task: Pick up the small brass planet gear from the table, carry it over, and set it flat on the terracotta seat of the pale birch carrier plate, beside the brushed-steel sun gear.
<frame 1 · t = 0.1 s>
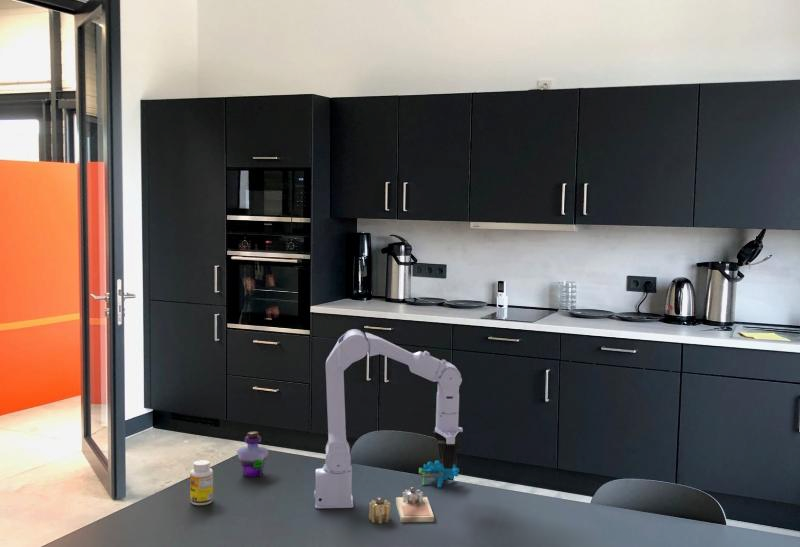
hand: (445, 463, 202), 10 cm above the table, fingers open, 7 cm apart
sun gear: (412, 505, 199), resting on carrier plate
supplement bottle: (201, 502, 199), on the table
toy dinosaur: (438, 484, 216), on the table
potion bottle: (252, 475, 219), on the table
planet gear: (379, 519, 190), on the table
carrier plate: (414, 511, 195), on the table
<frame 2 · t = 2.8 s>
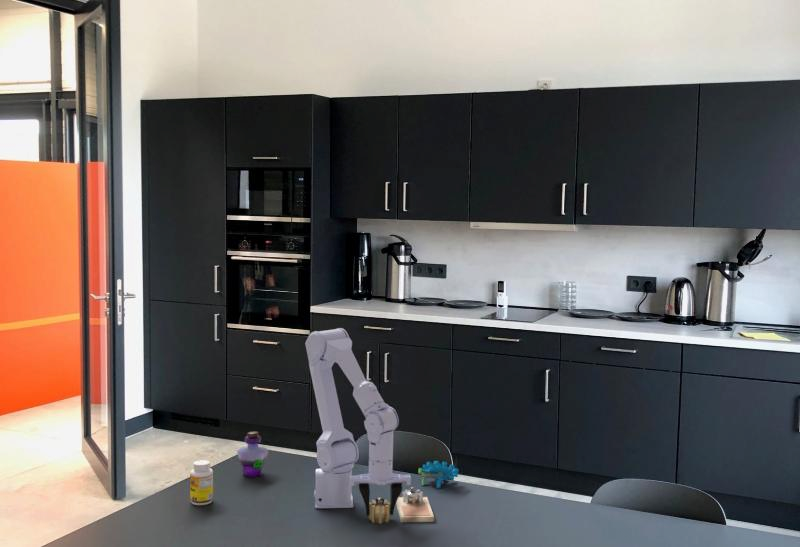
hand: (379, 513, 190), 1 cm above the table, fingers closed on planet gear, 5 cm apart
planet gear: (379, 519, 190), on the table, touching gripper
everything else where it was.
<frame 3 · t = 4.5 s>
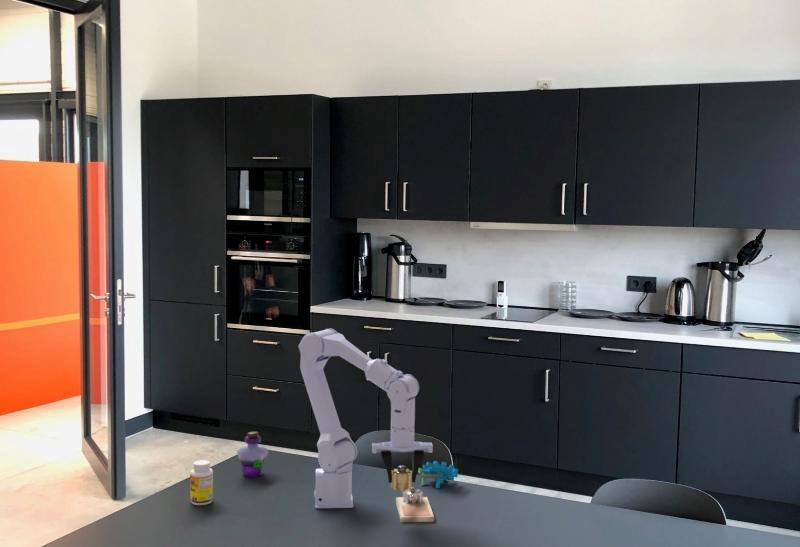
hand: (401, 481, 191), 9 cm above the table, fingers closed on planet gear, 5 cm apart
planet gear: (401, 487, 191), point 7 cm above the table, touching gripper
everything else where it was.
when the fingers open (4 cm above the table, at t = 6.5 s): planet gear drops 1 cm, resting on carrier plate.
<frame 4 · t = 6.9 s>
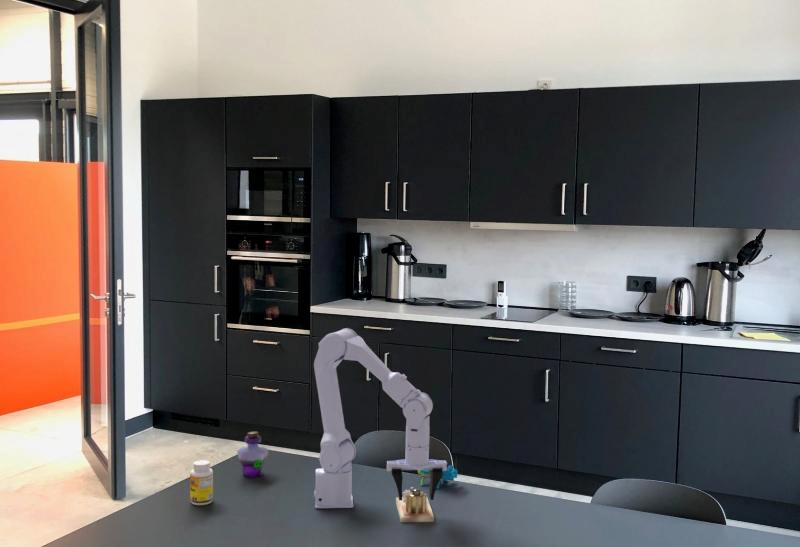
hand: (415, 498, 193), 4 cm above the table, fingers open, 7 cm apart
planet gear: (415, 510, 193), point 1 cm above the table, touching carrier plate
everything else where it was.
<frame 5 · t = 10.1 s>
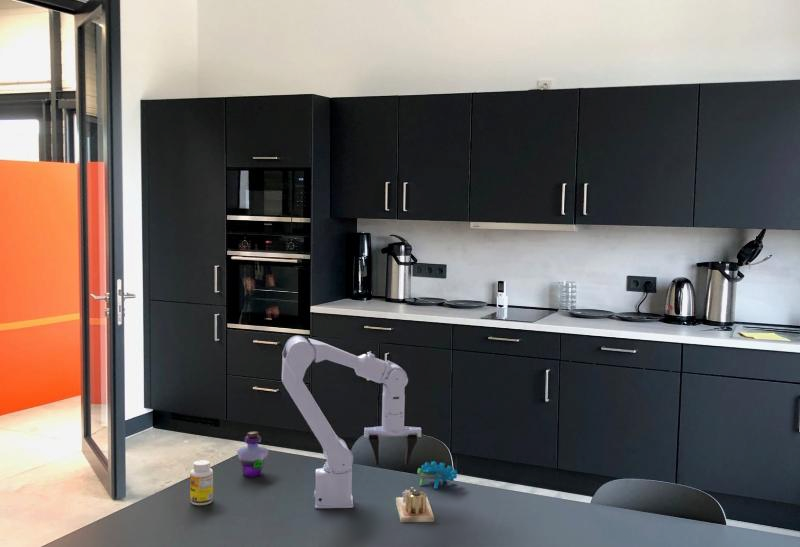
hand: (392, 463, 203), 9 cm above the table, fingers open, 7 cm apart
at the end: planet gear 0.5 cm from the target spot on the carrier plate, point 1.3 cm above the carrier plate's base; planet gear tilted 0°; the gripper is holding nothing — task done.
